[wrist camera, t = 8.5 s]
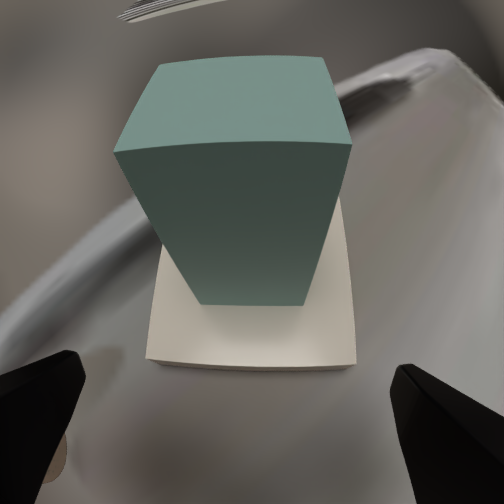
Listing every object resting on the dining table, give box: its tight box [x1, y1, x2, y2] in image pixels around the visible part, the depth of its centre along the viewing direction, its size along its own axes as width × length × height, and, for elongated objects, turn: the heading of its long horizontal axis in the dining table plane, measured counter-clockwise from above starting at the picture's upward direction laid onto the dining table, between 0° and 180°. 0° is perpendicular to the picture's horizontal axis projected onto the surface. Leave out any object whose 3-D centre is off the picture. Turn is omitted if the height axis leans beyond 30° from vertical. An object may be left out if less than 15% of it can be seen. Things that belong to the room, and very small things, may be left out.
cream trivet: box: [146, 196, 356, 371], centre depth 20 cm, size 12×12×2 cm
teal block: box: [113, 56, 352, 306], centre depth 13 cm, size 5×6×12 cm
